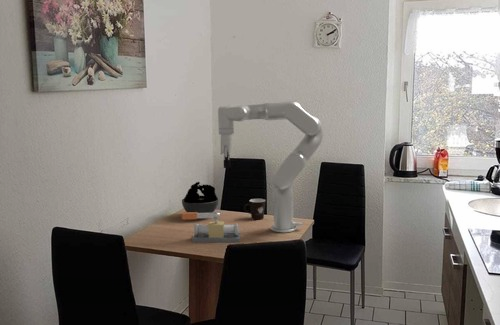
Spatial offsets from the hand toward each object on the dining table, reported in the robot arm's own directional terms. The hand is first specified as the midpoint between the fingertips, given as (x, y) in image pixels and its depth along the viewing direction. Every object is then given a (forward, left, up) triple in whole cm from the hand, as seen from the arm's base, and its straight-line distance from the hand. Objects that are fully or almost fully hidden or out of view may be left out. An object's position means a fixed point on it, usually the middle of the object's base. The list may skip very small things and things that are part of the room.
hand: (227, 167), depth 269 cm
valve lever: (+11, +20, -21) cm, 31 cm away
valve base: (+4, +20, -31) cm, 37 cm away
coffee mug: (-13, -18, -31) cm, 38 cm away
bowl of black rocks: (+17, -21, -31) cm, 41 cm away
